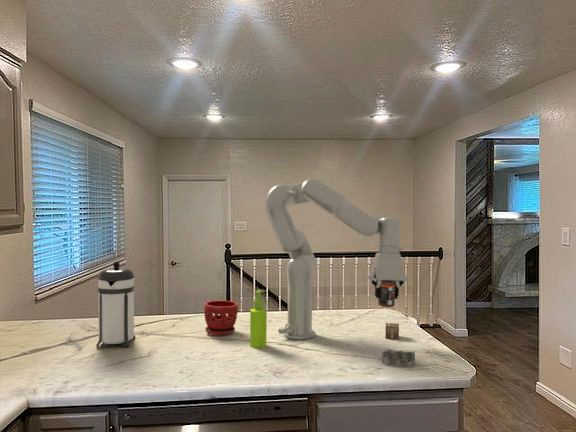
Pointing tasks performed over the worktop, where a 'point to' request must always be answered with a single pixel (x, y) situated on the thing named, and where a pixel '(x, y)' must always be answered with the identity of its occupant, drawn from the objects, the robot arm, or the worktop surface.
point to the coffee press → (116, 306)
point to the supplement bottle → (387, 294)
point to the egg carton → (398, 358)
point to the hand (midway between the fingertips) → (386, 297)
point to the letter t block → (392, 331)
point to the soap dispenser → (258, 322)
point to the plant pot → (220, 317)
